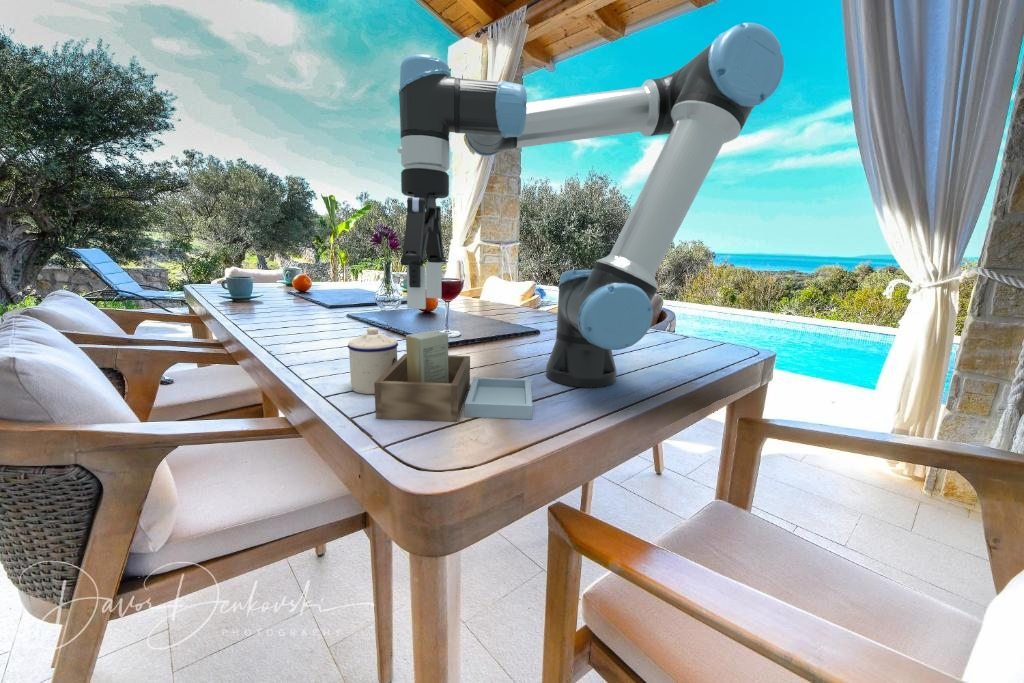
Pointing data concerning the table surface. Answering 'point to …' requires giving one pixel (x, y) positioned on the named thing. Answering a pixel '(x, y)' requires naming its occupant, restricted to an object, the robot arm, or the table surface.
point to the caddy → (422, 393)
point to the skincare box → (427, 357)
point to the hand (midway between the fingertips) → (426, 302)
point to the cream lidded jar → (370, 359)
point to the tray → (499, 398)
